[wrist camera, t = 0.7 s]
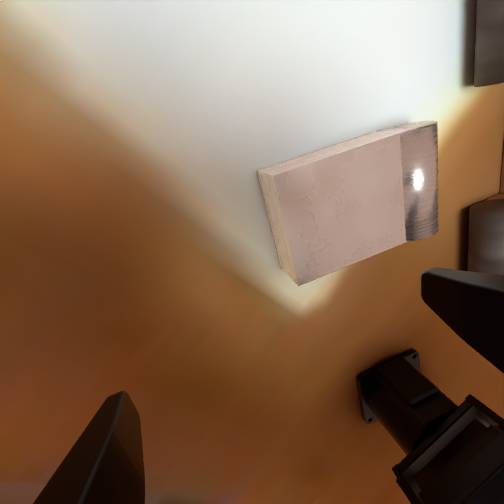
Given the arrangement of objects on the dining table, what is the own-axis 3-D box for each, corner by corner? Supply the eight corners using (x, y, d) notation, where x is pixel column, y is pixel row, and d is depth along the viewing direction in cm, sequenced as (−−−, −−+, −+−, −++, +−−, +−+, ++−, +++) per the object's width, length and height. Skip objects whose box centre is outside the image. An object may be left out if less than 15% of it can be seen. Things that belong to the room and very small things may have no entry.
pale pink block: (411, 216, 24) (451, 229, 21) (281, 268, 22) (302, 290, 19) (406, 120, 21) (452, 117, 18) (256, 170, 19) (276, 176, 16)
